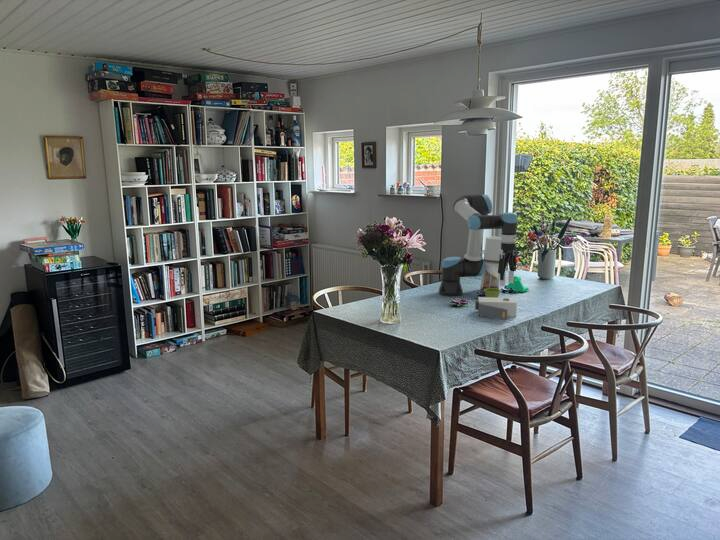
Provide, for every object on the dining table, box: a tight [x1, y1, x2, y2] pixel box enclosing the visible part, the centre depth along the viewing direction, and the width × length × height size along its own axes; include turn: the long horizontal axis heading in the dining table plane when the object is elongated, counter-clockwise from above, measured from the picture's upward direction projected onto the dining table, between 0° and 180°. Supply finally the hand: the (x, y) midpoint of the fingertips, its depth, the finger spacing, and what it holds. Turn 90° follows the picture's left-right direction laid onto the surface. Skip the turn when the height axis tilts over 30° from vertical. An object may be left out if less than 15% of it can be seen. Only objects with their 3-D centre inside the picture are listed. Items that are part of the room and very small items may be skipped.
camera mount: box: [506, 275, 530, 293], centre depth 352 cm, size 12×8×10 cm, turn 44°
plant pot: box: [484, 288, 501, 298], centre depth 321 cm, size 9×9×9 cm
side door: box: [478, 304, 508, 321], centre depth 292 cm, size 17×2×6 cm, turn 46°
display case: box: [480, 235, 503, 293], centre depth 348 cm, size 11×11×35 cm
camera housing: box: [474, 296, 518, 318], centre depth 302 cm, size 22×10×9 cm, turn 81°
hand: (506, 284), depth 288 cm, fingers open, 8 cm apart
